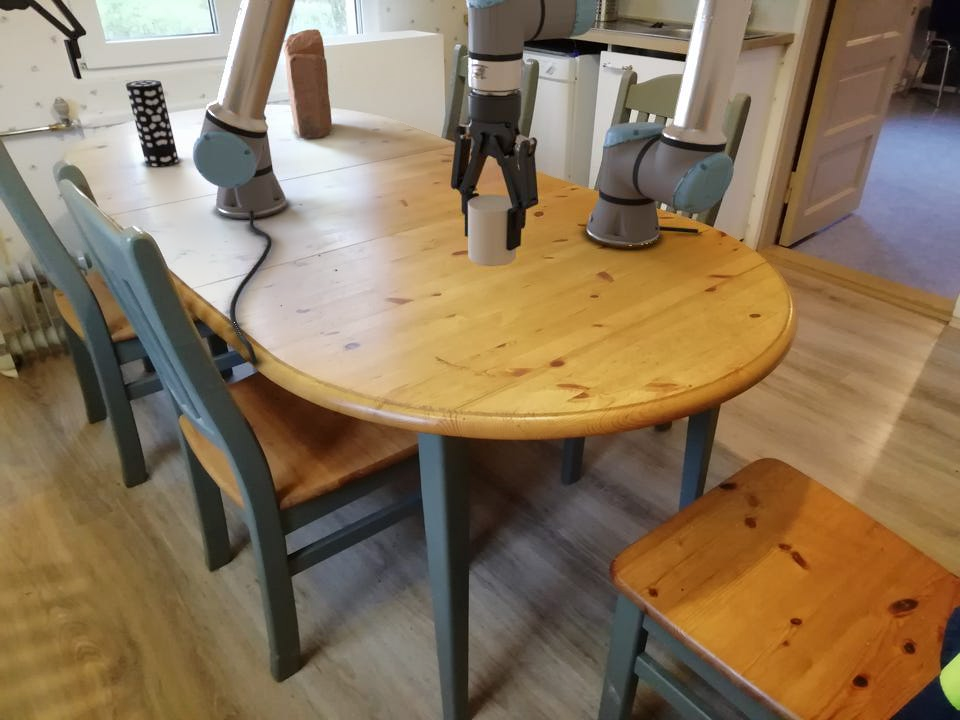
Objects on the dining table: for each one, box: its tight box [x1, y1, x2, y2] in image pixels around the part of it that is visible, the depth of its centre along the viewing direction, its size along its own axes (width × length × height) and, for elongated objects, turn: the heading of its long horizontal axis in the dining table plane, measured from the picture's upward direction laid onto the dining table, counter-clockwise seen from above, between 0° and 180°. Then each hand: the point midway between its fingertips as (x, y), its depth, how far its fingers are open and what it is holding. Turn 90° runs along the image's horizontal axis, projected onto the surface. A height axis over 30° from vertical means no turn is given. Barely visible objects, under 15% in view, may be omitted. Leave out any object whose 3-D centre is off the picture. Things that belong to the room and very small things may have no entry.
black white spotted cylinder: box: [125, 79, 179, 167], centre depth 181 cm, size 8×8×20 cm
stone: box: [282, 28, 333, 139], centre depth 208 cm, size 22×11×28 cm, turn 18°
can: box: [467, 193, 517, 267], centre depth 109 cm, size 8×8×9 cm
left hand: (38, 82), depth 127 cm, fingers open, 13 cm apart
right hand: (492, 240), depth 110 cm, fingers closed on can, 8 cm apart
